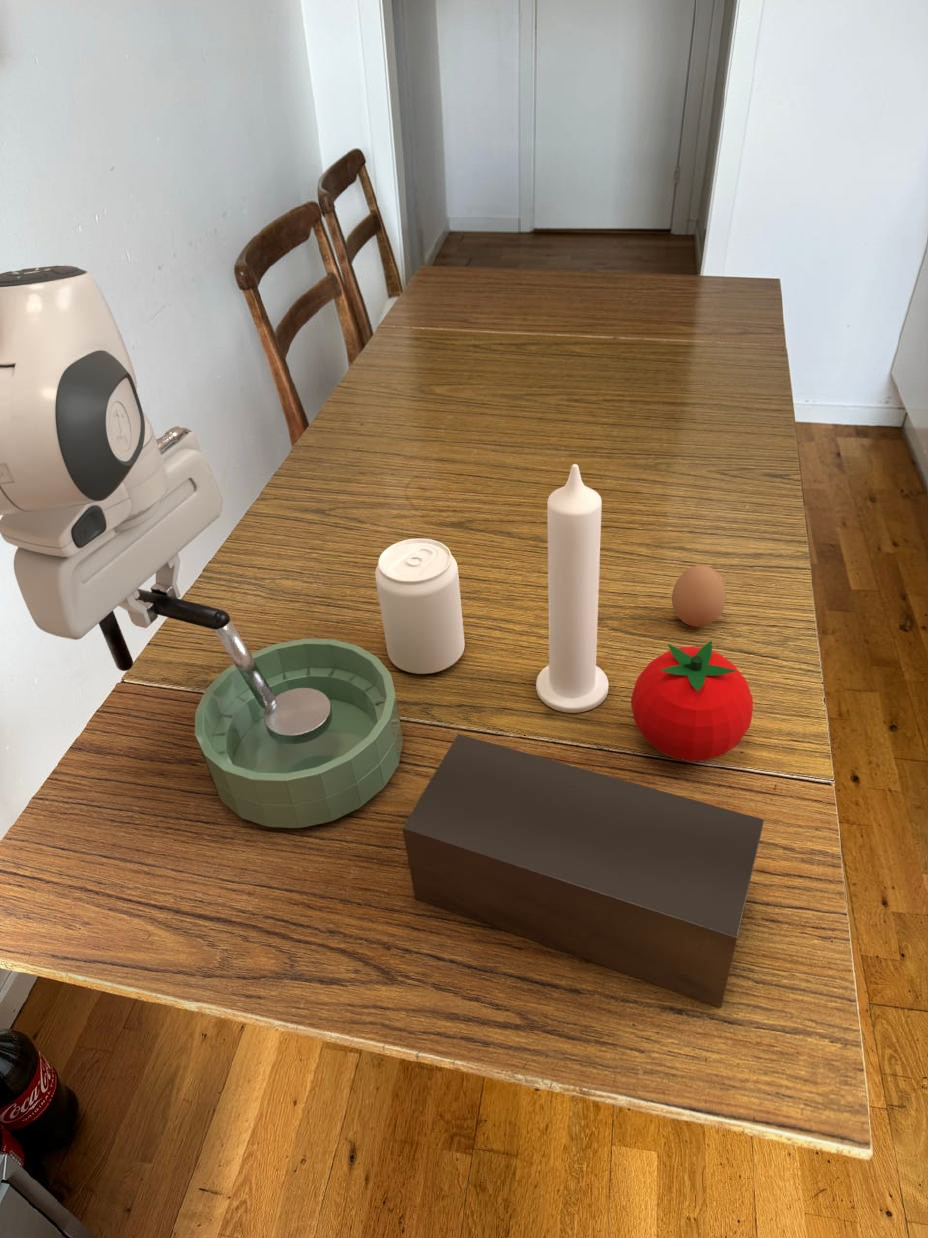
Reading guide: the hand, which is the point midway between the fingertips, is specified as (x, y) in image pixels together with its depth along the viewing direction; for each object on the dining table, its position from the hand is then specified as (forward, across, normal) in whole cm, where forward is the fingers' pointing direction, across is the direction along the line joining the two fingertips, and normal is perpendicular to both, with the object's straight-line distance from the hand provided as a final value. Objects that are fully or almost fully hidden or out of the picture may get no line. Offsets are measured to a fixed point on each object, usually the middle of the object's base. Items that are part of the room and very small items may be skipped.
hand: (157, 611), depth 79 cm
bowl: (+14, 0, +13) cm, 19 cm away
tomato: (+14, -14, +45) cm, 49 cm away
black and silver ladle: (+9, 0, +4) cm, 10 cm away
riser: (+14, +5, +41) cm, 44 cm away
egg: (+14, -31, +42) cm, 54 cm away
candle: (+14, -17, +33) cm, 40 cm away
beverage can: (+14, -17, +17) cm, 28 cm away
